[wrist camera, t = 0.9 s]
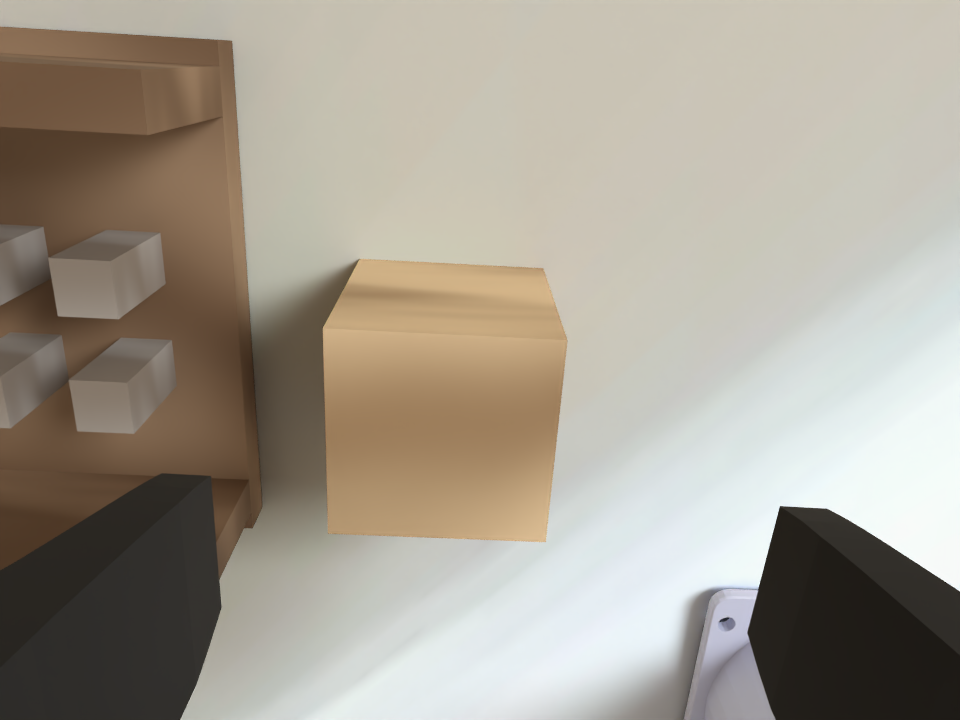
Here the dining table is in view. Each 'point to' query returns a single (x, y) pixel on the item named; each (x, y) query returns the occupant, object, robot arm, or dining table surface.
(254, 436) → the stand
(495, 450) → the light wooden block
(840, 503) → the dining table surface
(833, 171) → the dining table surface
